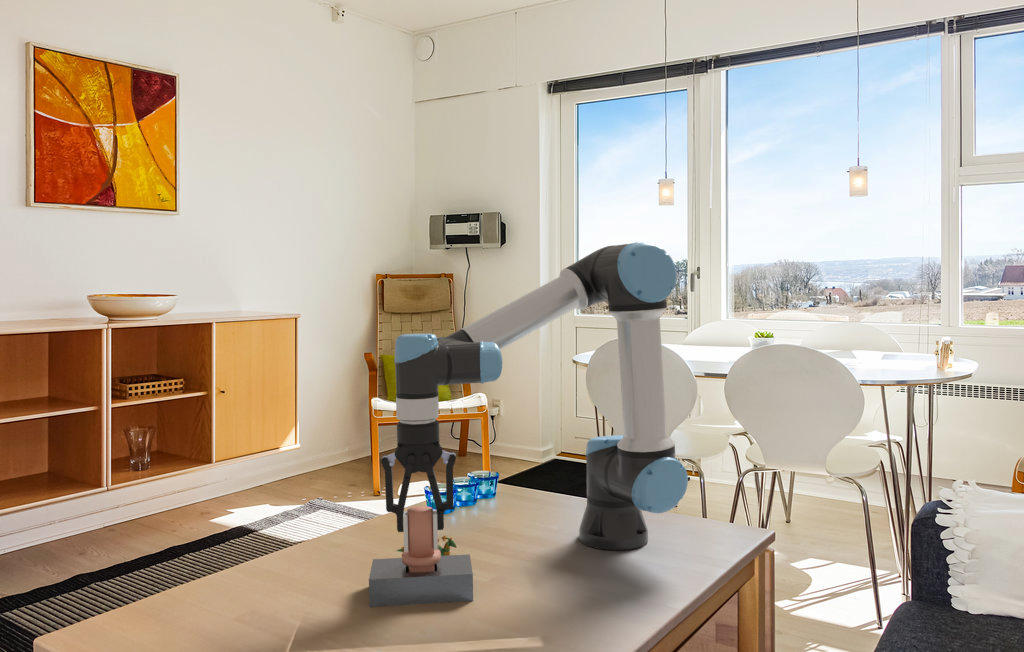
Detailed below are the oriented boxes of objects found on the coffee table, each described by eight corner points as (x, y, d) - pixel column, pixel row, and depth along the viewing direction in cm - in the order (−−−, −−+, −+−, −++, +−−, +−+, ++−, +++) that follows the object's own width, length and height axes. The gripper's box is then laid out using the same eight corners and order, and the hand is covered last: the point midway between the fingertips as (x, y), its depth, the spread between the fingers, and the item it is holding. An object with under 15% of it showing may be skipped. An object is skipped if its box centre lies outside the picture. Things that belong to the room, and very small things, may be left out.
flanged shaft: (441, 576, 142) (439, 503, 141) (441, 591, 135) (439, 514, 135) (403, 578, 141) (401, 505, 141) (401, 593, 134) (399, 516, 134)
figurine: (458, 571, 152) (457, 530, 151) (397, 576, 149) (396, 535, 149) (455, 565, 155) (455, 526, 154) (396, 571, 152) (395, 530, 152)
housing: (470, 585, 144) (469, 554, 144) (473, 607, 134) (472, 573, 134) (373, 590, 142) (373, 559, 142) (369, 613, 132) (368, 579, 132)
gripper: (466, 414, 141) (468, 538, 143) (369, 418, 140) (373, 544, 141) (468, 421, 134) (471, 552, 135) (366, 425, 132) (370, 558, 133)
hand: (421, 547), depth 138 cm, fingers closed on flanged shaft, 5 cm apart
